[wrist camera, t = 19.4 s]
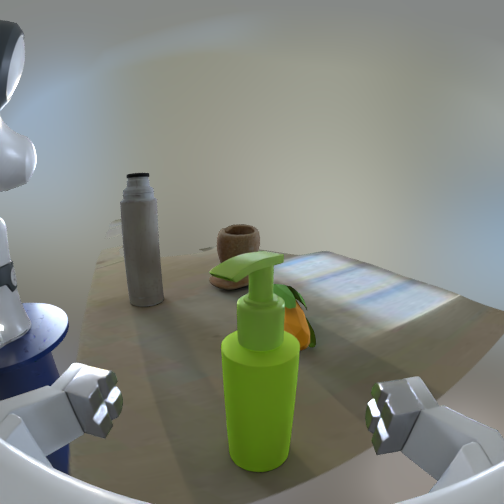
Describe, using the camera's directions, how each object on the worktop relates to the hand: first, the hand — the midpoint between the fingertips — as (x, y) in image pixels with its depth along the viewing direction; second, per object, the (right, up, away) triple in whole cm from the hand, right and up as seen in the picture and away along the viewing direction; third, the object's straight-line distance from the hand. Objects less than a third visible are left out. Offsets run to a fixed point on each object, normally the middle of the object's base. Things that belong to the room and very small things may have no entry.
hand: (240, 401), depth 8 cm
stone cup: (-2, -4, +66) cm, 66 cm away
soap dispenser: (+1, -15, +16) cm, 22 cm away
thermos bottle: (-23, -7, +55) cm, 60 cm away
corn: (+6, -10, +41) cm, 42 cm away
